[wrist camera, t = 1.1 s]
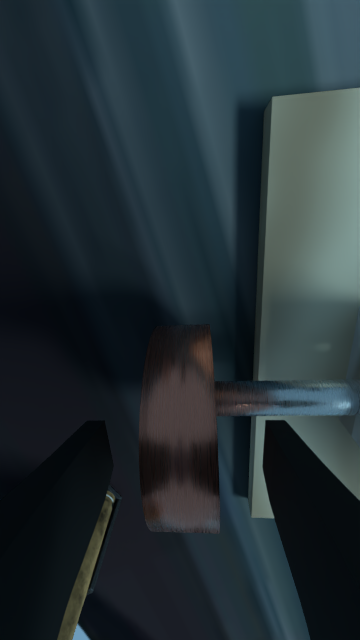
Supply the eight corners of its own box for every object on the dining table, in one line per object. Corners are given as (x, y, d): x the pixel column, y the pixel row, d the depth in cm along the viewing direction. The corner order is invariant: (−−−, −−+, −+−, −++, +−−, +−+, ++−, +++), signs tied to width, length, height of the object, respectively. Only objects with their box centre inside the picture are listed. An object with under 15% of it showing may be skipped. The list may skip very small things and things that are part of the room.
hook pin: (436, 292, 11) (784, 387, 5) (399, 421, 13) (592, 607, 7) (164, 304, 12) (124, 395, 5) (174, 422, 14) (155, 585, 8)
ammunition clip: (21, 539, 21) (-186, 904, 10) (4, 526, 20) (-232, 893, 9) (123, 497, 18) (5, 923, 7) (107, 480, 18) (-46, 909, 7)
